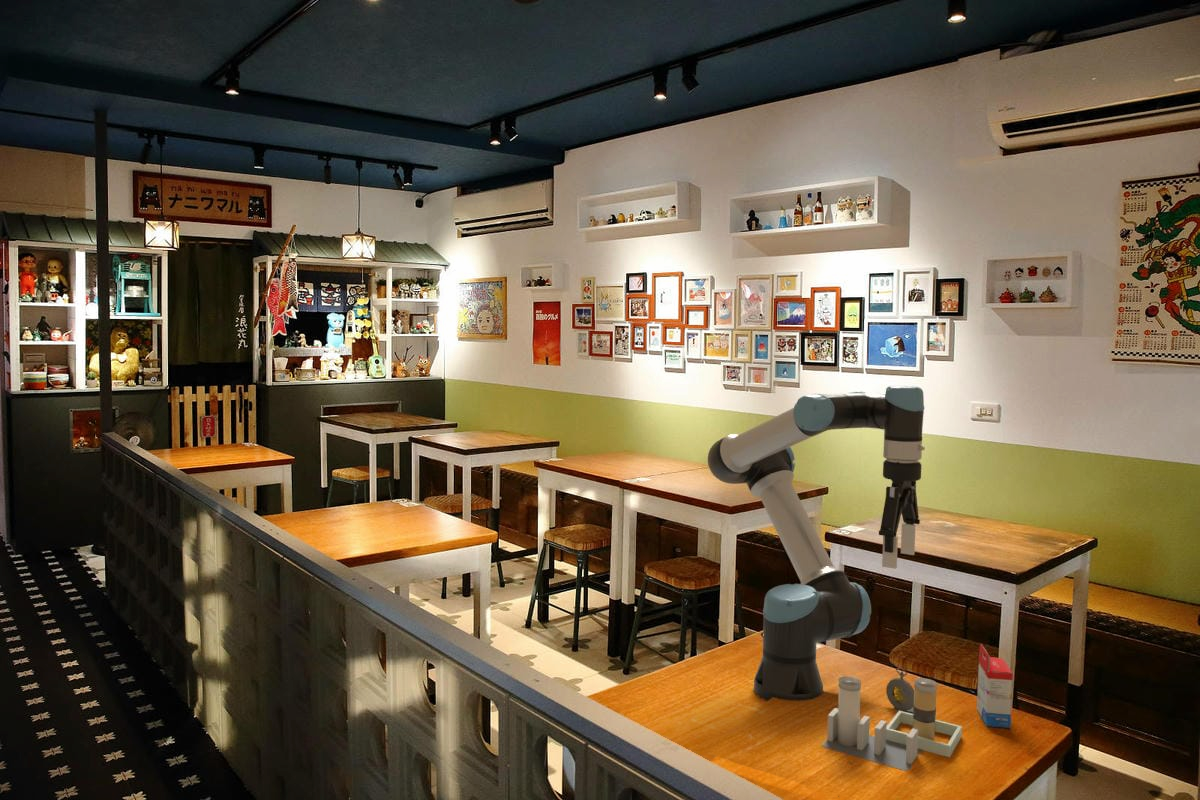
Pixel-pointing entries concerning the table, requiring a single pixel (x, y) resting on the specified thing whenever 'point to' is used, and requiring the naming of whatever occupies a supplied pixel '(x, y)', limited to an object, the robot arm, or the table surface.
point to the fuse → (848, 710)
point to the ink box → (994, 690)
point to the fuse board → (874, 744)
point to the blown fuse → (924, 707)
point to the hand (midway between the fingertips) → (898, 560)
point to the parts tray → (924, 742)
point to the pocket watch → (901, 693)
